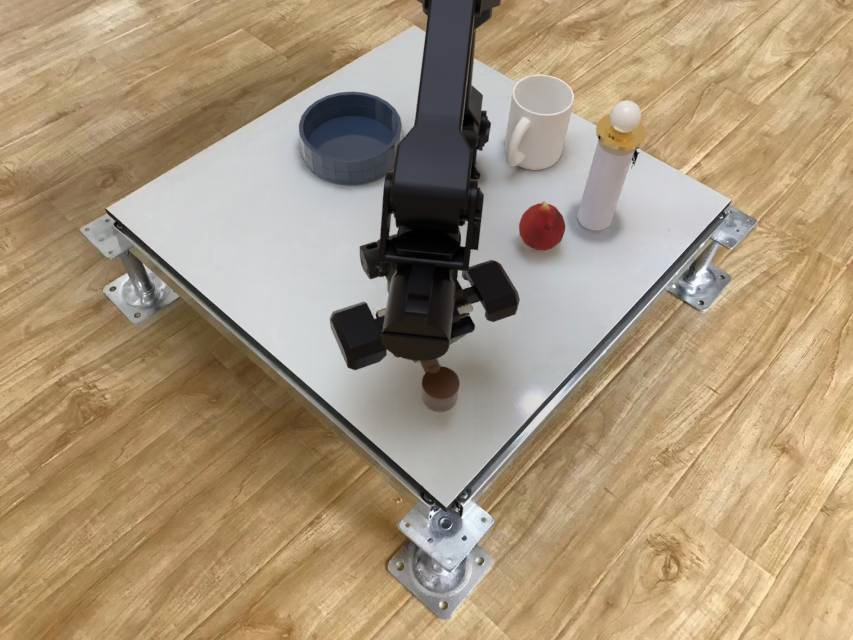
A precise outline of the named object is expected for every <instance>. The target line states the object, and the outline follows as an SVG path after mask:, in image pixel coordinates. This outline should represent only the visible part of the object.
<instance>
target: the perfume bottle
mask: <svg viewBox="0 0 853 640" xmlns="http://www.w3.org/2000/svg"><path fill="white" fill-rule="evenodd" d="M642 116H643V115H642V110H641V108H640V106H639V104H637V103H636V102H634V101H632V100H630V99H629V100H628V99H627V100H626V99H624V100H620V101H618V102H617V103H616V104H614V105H613V107H611V110H610V112H609V114H607V115H604V116H603V117H601V118H600V119H599V120H598V121H597V125H596V128H595V134H596V137H597V144H596V147H595V150H594V153H593V158H592V161H591V164H590V168H589V171H588V176H587V178H586V182H585V185H584V189H583V193H582V197H581V201H580V203H579V208H578V211H577V215H576V216H577V220H578V223H579V224H580V225H581V226H582V227H584V228H586V229H588V230H590V231H602V230H605V229H607V228H608V227H609V226H610V225H611V224H612V220H613V218H614V215H615V211H616V208H617V205H618V203H619V199H620V196H621V193H622V191H623V187H624V185H625V182H626V179H627V176H628V173H629V170H630V169H631V170H632V169H633V166H635V165H636V162H637V160H638V156H639V154H640V153H641V152H639V151H638V149H640V148H641V146H642V145H643V143H644V142H645V139H646V135H647V131H646V128H645V126H644V125H643V123H642V122H641V121H642V118H643V117H642ZM631 164H632V165H631ZM630 167H631V168H630Z"/></svg>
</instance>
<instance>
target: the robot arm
mask: <svg viewBox="0 0 853 640" xmlns="http://www.w3.org/2000/svg"><path fill="white" fill-rule="evenodd" d="M416 1H417V2H419V3H420V4H421V6H422V7H421V9H422V13H424V15H426V16H427V18H426V25H425V26H426V28H425V35H424V43H423V52H422V59H421V68H420V77H419V85H418V91H417V99H416V108H415V109H416V110H415V116H414V124H413V126H412V127H411V128H410V130H409V131H407V133H406V134H405V135H404V136H403V137H402V140H401V141H400V143H399V144H398V146H397V150H396V157H395V164H394V168H393V170H391V171H387V172H386V175H385V176H384V182H383V190H382V191H383V192H382V204H381V205H382V206H381V218H380V219H381V220H380V232H379V233H380V234H379V239H377V240H375V241H372V242H369V243H366V244H362V245H360V246H359V261H360V266H361V268H362V270H363V272H364V274H365V275H366V277H367V278H368V279H369V280H374V279H377V278H383V277H385V279H386V288H387V289H386V291H387V294H388V295H387V301H386V307H384V308H381V309H378V310H377V311H376V313H375V317H374V315H373V312H372V311H371V309H370V306H369V305H368V303H367V302H366V301H361V302H357V303H355V304H352V305H349V306H346V307H343V308H339V309H337V310H334V311H332V313H331V314H330V316H329V325H330V326H329V327H330V330H331V332H332V334H333V336H334V339H335V341H336V343H337V346H338V348H339V351H340V353H341V355H342V357H343V360H344V362H345V365H346V368H347V369H350V370H352V371H358V370H361V369H364V368H366V367H369V366H371V365H376V364H378V363H380V362H381V361H383V359H384V358H386V357H387V355H388V353H387V351H388V352H389V353H391V354H392V355H393V357H394V358H402V359H404V360H409V361H413V363H415V364H416V363H419V362H420V361H428V360H434V359H437V360H438V359H439V358H442V357H443V356H445V354H447V353H448V352H449V349H450V346H452V345H453V344H454V343H455V342H457V341H459V340H460V339H462V338H463V337H466V336H467V335H469V334H471V333H473V332H474V331H475V329H476V325H475V322H474V320H473V319H472V317H471V316H470V314H471V313H472V312H473V311H474V307H473V304H476V303H478V302H479V303H480V304H481V306H482V307H483V309H484V317H485V319H486V321H488V322H491V323H495V322H497V321H498V322H499V321H501V320H504V319H507V318H510V317H512V316H516V314H517V312H518V310H519V305H520V301H521V299H520V295H519V291H518V289H517V288H516V286H515V285H514V283H513V282H512V279H511V278H510V276H509V275H508V273H507V272H506V270H505V269H504V267H503V265H502V264H501V263H500V262H499V261H497V260H493V259H490V260H487V261H486V260H485V261H483V262H481V263H476V264H474V265H471V266H470V262H471V253H472V252H471V251H479V245H480V236H481V228H482V218H483V209H484V201H485V200H484V199H485V194H484V192H483V191H482V190H481V187H479V179H480V178H481V174H480V172H479V170H478V169H477V167H476V165H477V155H478V151H480V152H482V151H483V149H484V147H485V145H486V144H487V143H488V142H489V140H490V133H491V126H492V122H491V121H490V120H489V119H488V118H489V116H488V115H487V114H488V110H485V109H484V110H483V109H482V108H483V98H484V95H483V94H482V93H481V92H480V91H479V89H477V88H476V87H475V86H473V75H474V61H475V51H476V38H477V29H478V28H479V27H481V26H483V25H484V24H485V23H486V22H487V21H489V20H490V19H492V16H493V9H495V8H497V7H499V6H501V4H502V3H501V2H502V0H416ZM392 215H393V218H394V219H395V227H396V229H397V231H396V233H394V234H390V231H391V224H392V223H391V222H392ZM466 222H467V224H466ZM465 225H467V226H466V235H465V236H466V237H465V243H464V245H461V244H462V233H461V229H460V227H464V226H465ZM460 271H461V277H462V278H463V280H464V281H467V282H468V283H469V285H470V286H469V287H466V288H463V287H462V285H461V283H460V282H459V279H458V276H459V275H458V274H459V272H460Z"/></svg>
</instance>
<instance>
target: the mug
mask: <svg viewBox="0 0 853 640" xmlns="http://www.w3.org/2000/svg"><path fill="white" fill-rule="evenodd" d="M574 102H575V94H574V91H573V89H572V88H571V86H570V85H569V84H568V83H567V82H565V81H564V80H563V79H560V78H558V77H555V76H552V75H548V74H532V75H527V76H525V77H522V78H521V79H519V80H518V81H517V82H516V83H515V85H514V86H513V88H512V93H511V100H510V107H509V112H508V119H507V126H506V134H505V141H504V150H505V154H506V157H505V159H506V163H507V165H508V166H510V167H511V168H513V167H517V166H518V167H520V168H522V169H525V170H532V171H539V170H545V169H548V168H550V167H552V166H554V165H556V163H557V162H558V161H559V160H560V158H561V155H562V153H563V150H564V146H565V141H566V136H567V133H568V127H569V124H570V121H571V115H572V110H573V106H574Z"/></svg>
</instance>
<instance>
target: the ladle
mask: <svg viewBox="0 0 853 640" xmlns="http://www.w3.org/2000/svg"><path fill="white" fill-rule="evenodd" d="M419 363H420V365H421V367H422V369H423V371H424V374H423V376H422V379H421V390H420V391H421V392H420V393H421V394H420V398H421V401H422V403H423V405H424V406H425V407H426V408H427V409H428V410H430V411H432V412H435V413H444V412H448V411H450V410H452V409H453V408H454V407H455V406H456V404H457V402H458V399H459V393H460V386H461V385H460V384H461V382H460V378H459V375H458V374H457V373H456V372H455V371H454V370H453V369H452V368H450V367H446V366H441V364H440V362H439V360H438V358H437V359H434V360H428V361H419Z"/></svg>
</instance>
